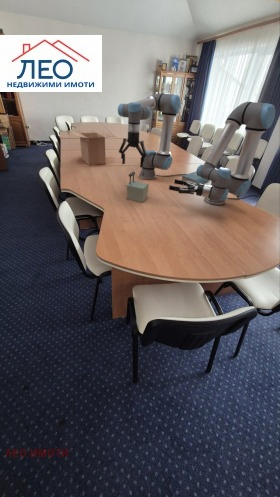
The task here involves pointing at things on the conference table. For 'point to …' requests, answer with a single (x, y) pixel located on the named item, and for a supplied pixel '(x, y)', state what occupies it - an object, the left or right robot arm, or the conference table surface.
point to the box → (92, 146)
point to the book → (194, 178)
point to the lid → (136, 183)
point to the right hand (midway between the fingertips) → (172, 184)
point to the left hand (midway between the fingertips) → (132, 165)
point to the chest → (137, 194)
